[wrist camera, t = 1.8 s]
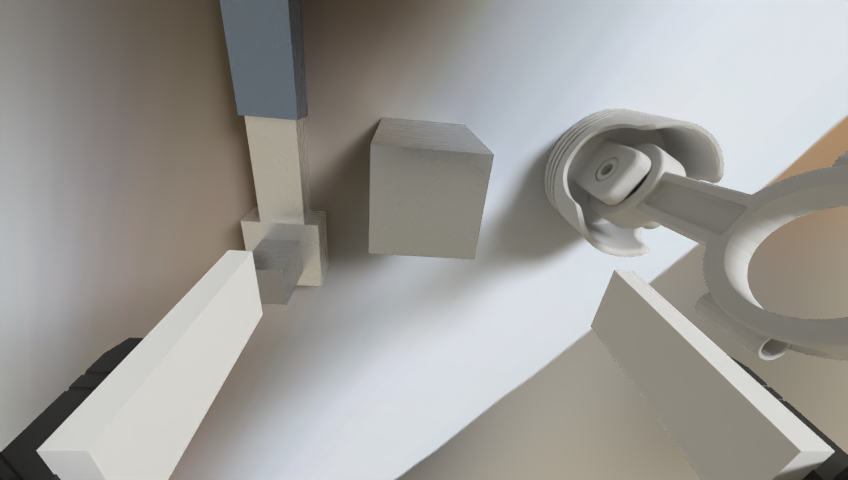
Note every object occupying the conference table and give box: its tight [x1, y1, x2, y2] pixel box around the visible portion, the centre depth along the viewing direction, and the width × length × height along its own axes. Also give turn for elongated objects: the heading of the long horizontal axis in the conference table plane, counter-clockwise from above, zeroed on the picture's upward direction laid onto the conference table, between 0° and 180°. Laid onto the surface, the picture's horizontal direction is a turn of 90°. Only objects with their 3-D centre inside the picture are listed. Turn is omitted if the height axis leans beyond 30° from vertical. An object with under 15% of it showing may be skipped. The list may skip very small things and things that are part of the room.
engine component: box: [544, 109, 848, 361], centre depth 20 cm, size 11×20×10 cm
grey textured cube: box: [369, 118, 494, 259], centre depth 23 cm, size 7×7×10 cm
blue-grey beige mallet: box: [220, 0, 329, 304], centre depth 23 cm, size 24×6×8 cm, turn 175°
